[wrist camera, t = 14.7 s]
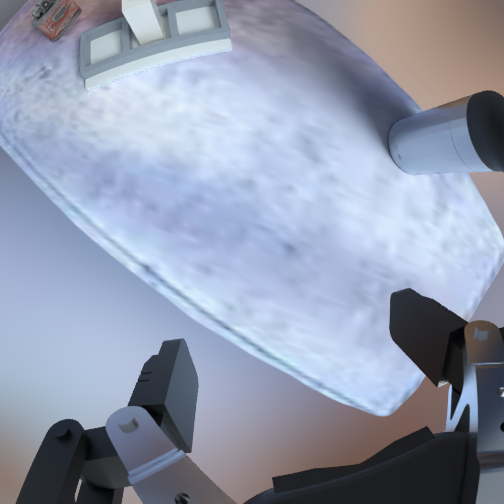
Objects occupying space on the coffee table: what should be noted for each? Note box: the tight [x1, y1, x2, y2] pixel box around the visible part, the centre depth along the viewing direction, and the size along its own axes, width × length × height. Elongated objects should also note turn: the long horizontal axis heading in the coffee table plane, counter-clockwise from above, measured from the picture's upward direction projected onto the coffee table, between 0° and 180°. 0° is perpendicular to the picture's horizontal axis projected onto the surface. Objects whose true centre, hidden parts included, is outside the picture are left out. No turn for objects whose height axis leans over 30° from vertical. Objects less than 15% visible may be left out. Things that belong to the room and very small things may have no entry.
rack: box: [80, 0, 232, 91], centre depth 29 cm, size 22×12×3 cm, turn 102°
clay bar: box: [122, 0, 165, 46], centre depth 25 cm, size 4×4×10 cm
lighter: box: [30, 0, 82, 42], centre depth 23 cm, size 8×3×10 cm, turn 151°
